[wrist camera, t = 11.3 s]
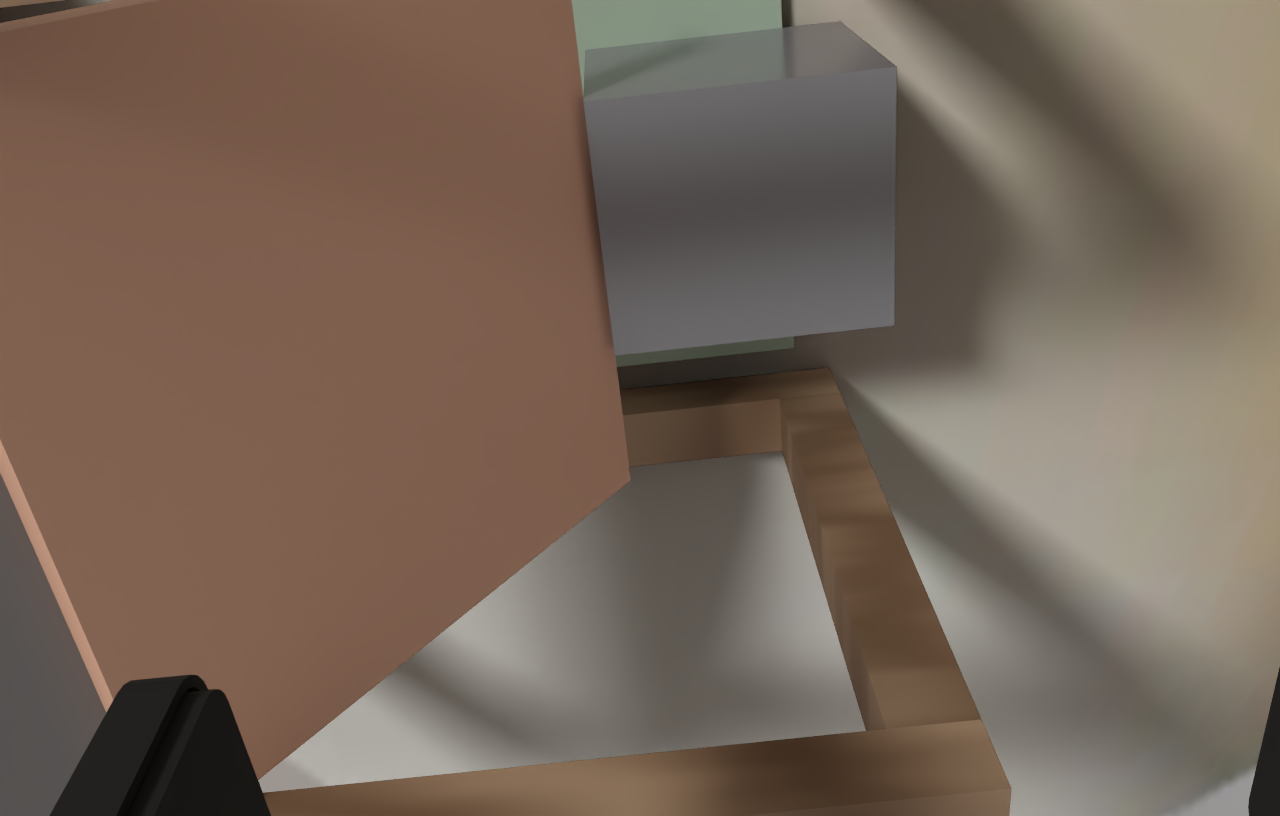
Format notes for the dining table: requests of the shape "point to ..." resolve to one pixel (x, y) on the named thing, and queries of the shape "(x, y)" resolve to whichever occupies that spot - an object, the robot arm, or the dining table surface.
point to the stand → (864, 621)
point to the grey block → (743, 185)
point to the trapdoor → (283, 349)
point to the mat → (660, 11)
